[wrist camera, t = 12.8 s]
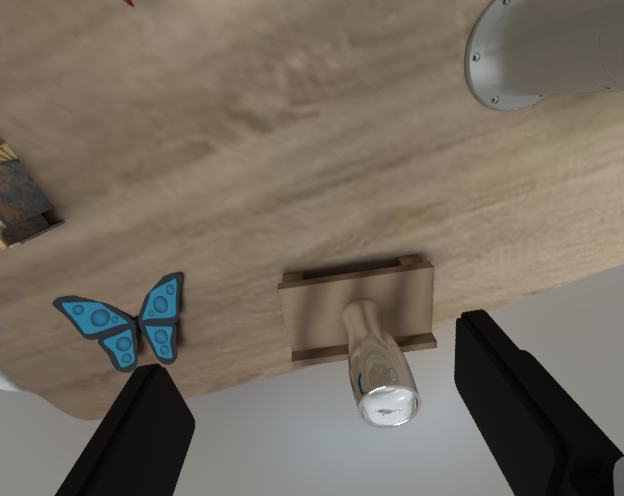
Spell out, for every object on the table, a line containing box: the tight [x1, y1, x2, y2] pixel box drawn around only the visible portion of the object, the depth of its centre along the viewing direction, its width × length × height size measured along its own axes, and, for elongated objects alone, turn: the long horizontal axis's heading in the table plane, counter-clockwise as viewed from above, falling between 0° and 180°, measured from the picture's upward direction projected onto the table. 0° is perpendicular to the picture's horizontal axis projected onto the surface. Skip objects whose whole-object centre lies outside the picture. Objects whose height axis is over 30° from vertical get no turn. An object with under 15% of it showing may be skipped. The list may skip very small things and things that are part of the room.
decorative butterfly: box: [53, 273, 183, 372], centre depth 48 cm, size 20×14×3 cm
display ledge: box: [278, 255, 437, 367], centre depth 45 cm, size 22×13×7 cm, turn 98°
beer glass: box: [342, 299, 421, 428], centre depth 37 cm, size 7×7×15 cm
